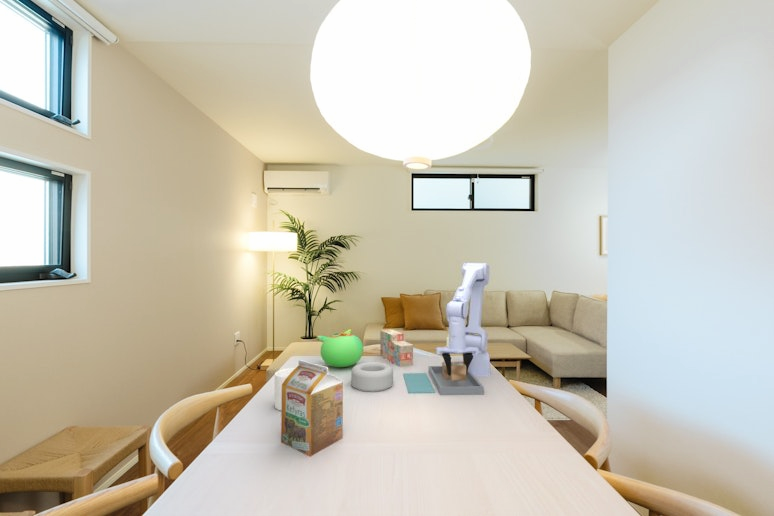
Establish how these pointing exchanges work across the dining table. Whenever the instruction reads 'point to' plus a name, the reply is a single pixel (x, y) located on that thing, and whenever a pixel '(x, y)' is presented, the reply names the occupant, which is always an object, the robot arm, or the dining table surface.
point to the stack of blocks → (395, 348)
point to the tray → (455, 383)
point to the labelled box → (458, 371)
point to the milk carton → (311, 409)
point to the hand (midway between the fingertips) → (457, 374)
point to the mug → (280, 385)
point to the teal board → (418, 383)
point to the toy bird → (341, 349)
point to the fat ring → (372, 376)
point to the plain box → (444, 371)
